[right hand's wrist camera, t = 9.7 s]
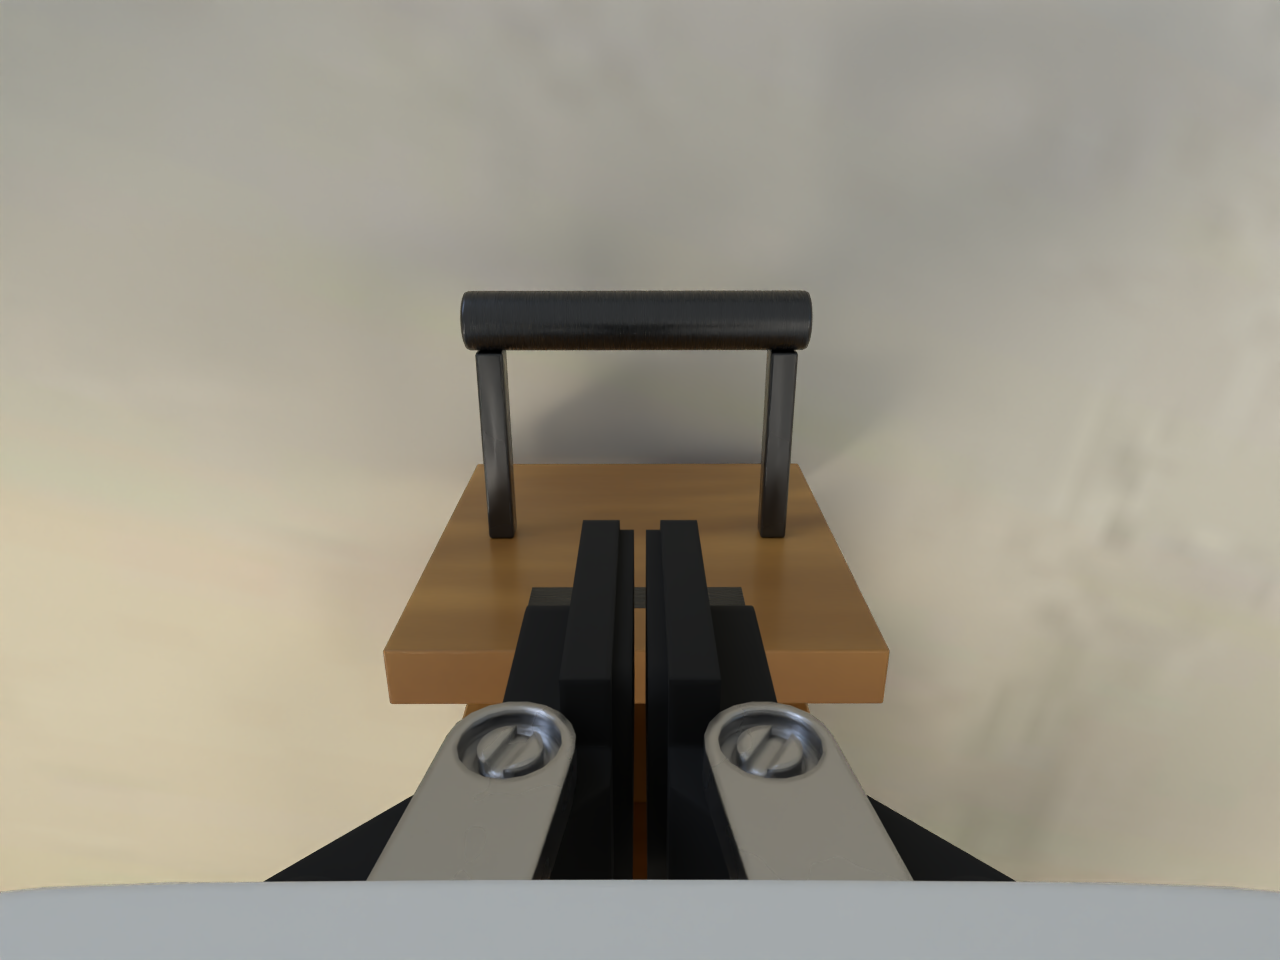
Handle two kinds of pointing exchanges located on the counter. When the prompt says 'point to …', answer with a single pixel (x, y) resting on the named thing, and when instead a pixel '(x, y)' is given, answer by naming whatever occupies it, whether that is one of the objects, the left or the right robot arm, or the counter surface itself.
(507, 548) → the drawer
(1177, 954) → the right robot arm
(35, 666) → the counter surface
